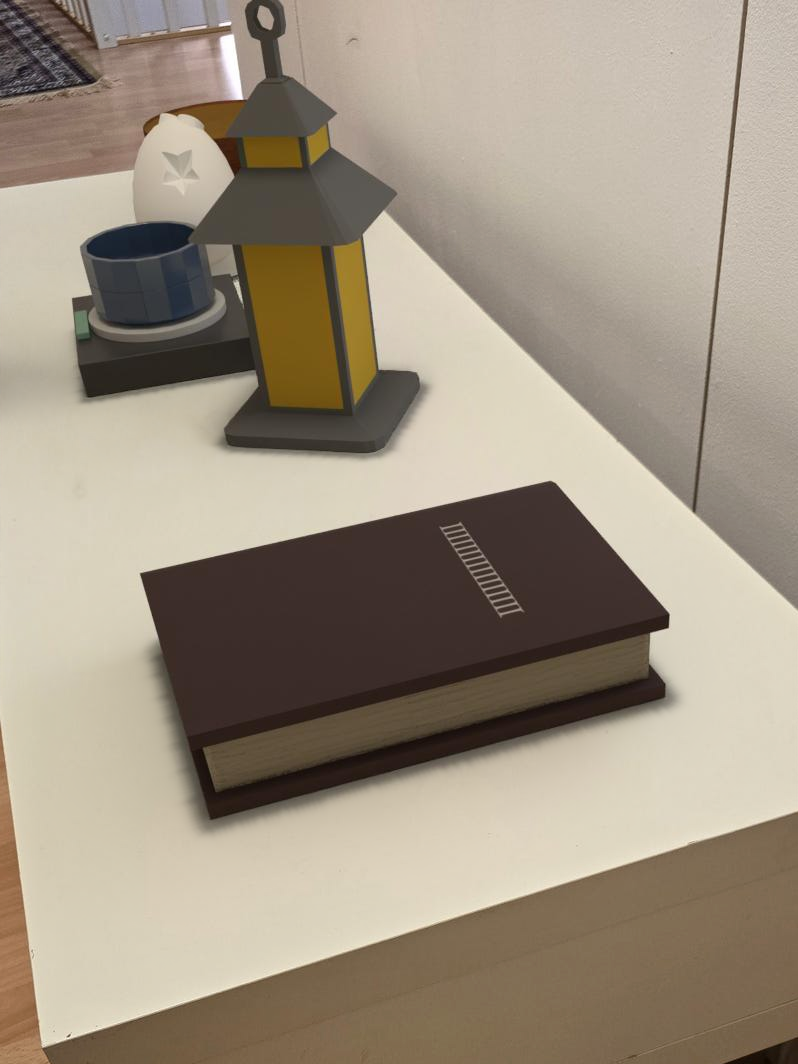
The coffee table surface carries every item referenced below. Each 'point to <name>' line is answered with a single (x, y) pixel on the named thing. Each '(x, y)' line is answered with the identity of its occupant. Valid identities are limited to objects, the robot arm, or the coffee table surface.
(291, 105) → the lantern
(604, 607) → the book
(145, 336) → the scale
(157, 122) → the bowl
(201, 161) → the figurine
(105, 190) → the coffee table surface
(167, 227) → the glazed bowl
